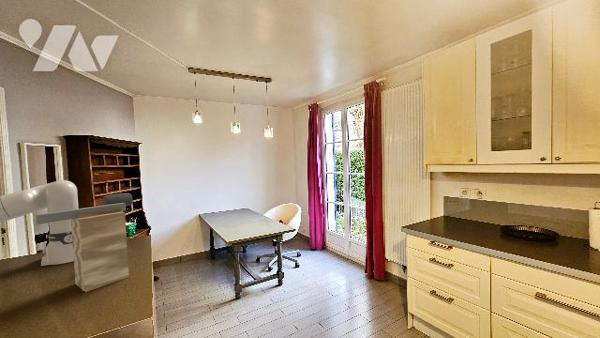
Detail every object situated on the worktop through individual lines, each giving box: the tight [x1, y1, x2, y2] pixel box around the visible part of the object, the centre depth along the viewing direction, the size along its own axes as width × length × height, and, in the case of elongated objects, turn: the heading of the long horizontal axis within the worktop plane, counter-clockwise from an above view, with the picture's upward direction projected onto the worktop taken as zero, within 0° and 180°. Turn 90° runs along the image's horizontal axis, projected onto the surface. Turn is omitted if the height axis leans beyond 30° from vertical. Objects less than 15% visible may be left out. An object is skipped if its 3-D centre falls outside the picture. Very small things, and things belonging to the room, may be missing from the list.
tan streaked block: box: [71, 209, 130, 293], centre depth 103 cm, size 12×14×27 cm
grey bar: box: [35, 203, 127, 225], centre depth 99 cm, size 3×26×3 cm, turn 143°
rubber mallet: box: [102, 192, 133, 207], centre depth 143 cm, size 12×8×30 cm, turn 142°
